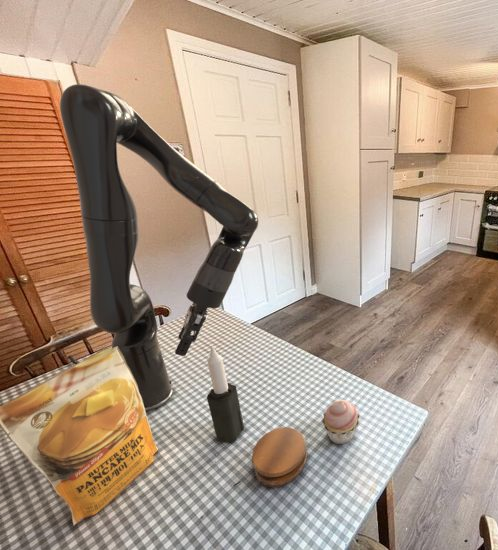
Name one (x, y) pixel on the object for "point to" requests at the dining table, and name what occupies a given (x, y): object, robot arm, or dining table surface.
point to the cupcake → (341, 421)
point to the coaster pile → (279, 457)
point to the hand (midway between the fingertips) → (181, 346)
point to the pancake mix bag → (84, 431)
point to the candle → (223, 402)
